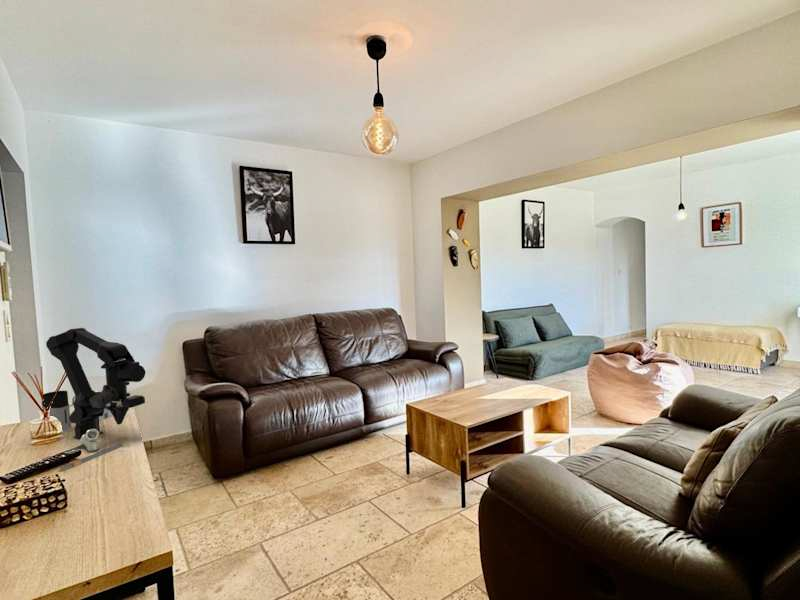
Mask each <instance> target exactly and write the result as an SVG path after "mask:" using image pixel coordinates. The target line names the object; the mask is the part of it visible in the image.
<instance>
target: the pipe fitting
mask: <svg viewBox="0 0 800 600" xmlns="http://www.w3.org/2000/svg"><path fill="white" fill-rule="evenodd" d="M99 433H100V432H99V431H98V430H96V429H91V430H88V431H87V432H86V434H85V435H83V436H82V437H81V439H80V440H79V443H80V445H84V446H86V447H85V448H86V449H87V450H88V451H89V452H95V451H97V450H98V449H100V446H101V444H100V442H99V441H98V439H99V438H98V437H99V436H100V434H99ZM88 436H89V437H91V438H89V437H88Z"/></svg>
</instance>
